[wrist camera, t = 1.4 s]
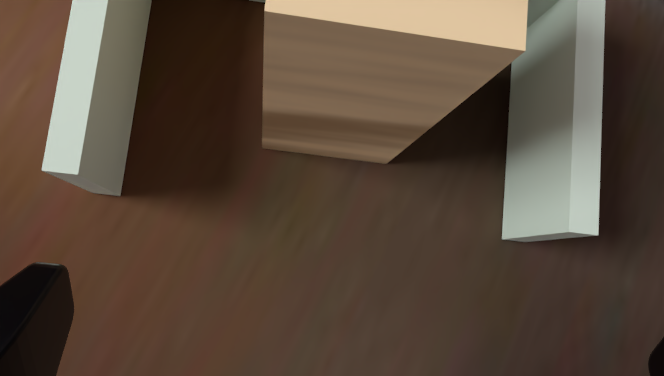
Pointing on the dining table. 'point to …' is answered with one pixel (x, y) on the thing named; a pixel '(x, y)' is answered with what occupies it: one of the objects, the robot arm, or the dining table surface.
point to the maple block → (377, 69)
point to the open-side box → (523, 125)
